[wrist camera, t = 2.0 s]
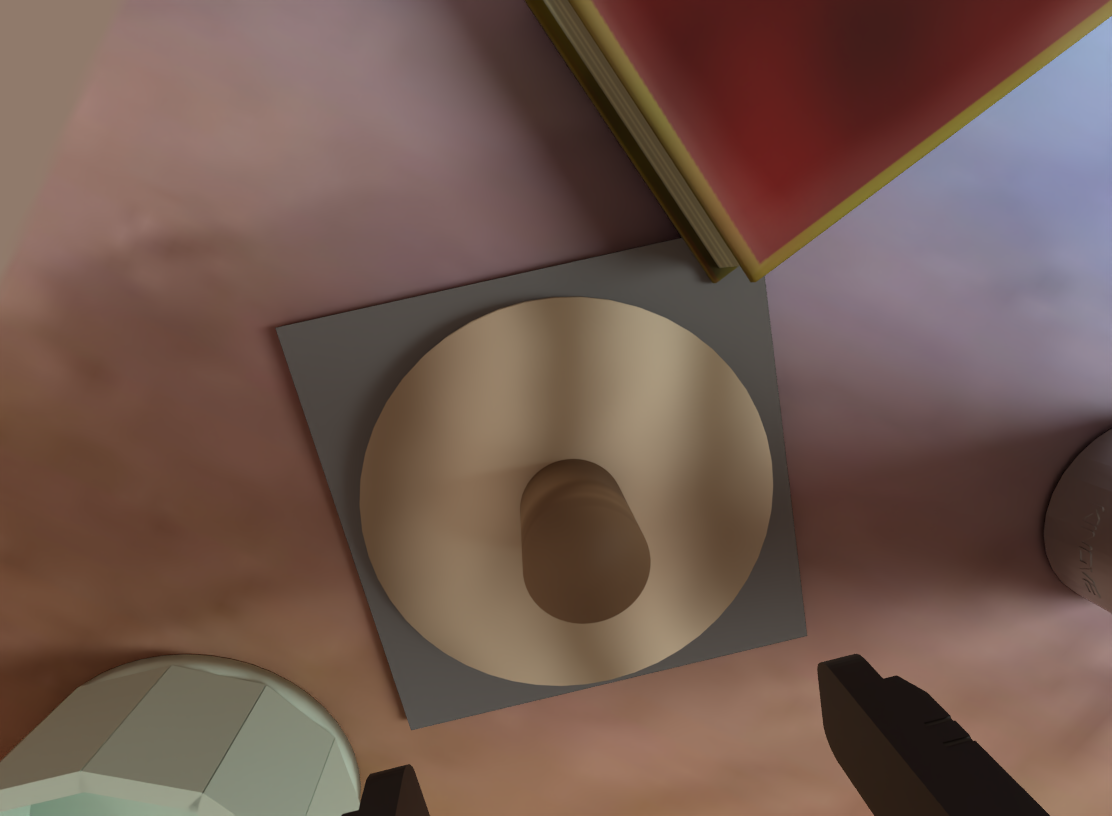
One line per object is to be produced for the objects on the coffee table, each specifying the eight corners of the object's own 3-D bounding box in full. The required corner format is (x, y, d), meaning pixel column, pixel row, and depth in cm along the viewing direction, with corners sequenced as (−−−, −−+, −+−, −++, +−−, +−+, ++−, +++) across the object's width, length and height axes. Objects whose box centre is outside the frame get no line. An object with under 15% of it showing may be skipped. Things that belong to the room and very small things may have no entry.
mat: (751, 222, 22) (758, 221, 21) (800, 627, 26) (807, 635, 25) (281, 326, 21) (275, 327, 21) (413, 719, 26) (411, 730, 25)
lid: (734, 254, 21) (809, 248, 16) (783, 621, 25) (856, 715, 20) (311, 349, 21) (242, 377, 16) (428, 707, 25) (405, 826, 20)
